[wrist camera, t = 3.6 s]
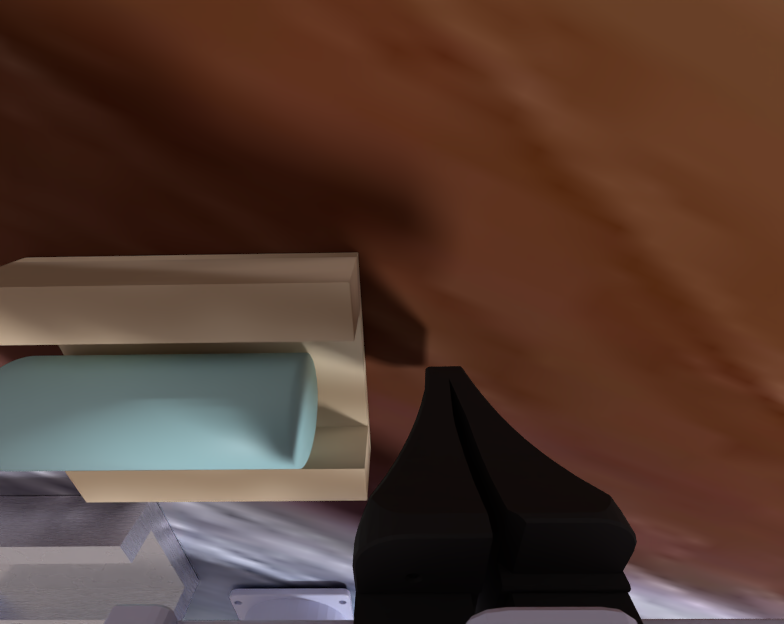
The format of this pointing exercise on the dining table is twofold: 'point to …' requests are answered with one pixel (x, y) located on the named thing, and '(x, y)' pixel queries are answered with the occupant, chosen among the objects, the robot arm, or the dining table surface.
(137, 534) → the v block
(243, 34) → the dining table surface
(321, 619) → the robot arm
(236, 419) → the light blue cylinder
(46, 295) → the beige channel block
